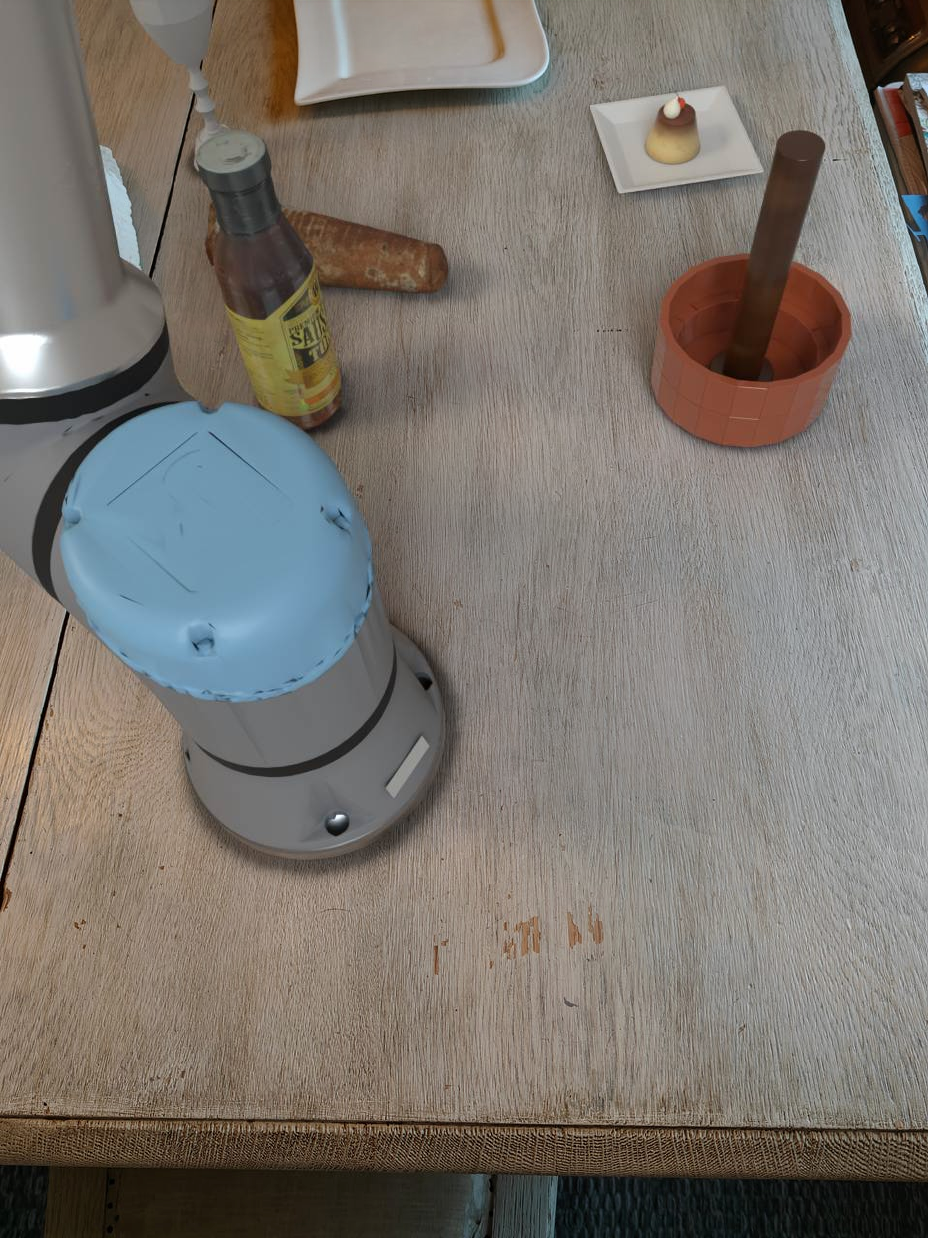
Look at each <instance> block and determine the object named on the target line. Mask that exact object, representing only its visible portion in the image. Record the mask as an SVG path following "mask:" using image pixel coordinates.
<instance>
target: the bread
mask: <svg viewBox="0 0 928 1238" xmlns="http://www.w3.org/2000/svg"><path fill="white" fill-rule="evenodd" d="M280 205H281V211H282V212H283V214H284V215H285V217H286V218H287V220H288V221H289V223H290V224H291V225H292V227H293V228H294V230H295V231H296V233H297V234H298V236H299V237H300V239H301V240H302V242H303V243H304V245H305V246H306V248H307V249H308V251H309V252H310V253H311V254H312V256H313V260H314V264H315V267H316V272H317V277H318V281H319V285H320V286H322V287H324V286H325V287H337V288H347V289H349V288H350V289H357V290H367V291H386V292H396V293H397V292H398V293H415V294H419V293H420V294H433V293H435V292H437V291H438V290H440V289H442V288H443V287H444V286H445V285H446V283H447V279H448V276H449V270H450V269H449V262H448V258H447V255H446V253H445V251H444V248H443V247H442V245H440V244H439V243H435V242H431V241H424V240H421V239H417V238H414V237H410V236H407V235H403V234H400V233H398V232H397V233H396V232H392V231H389V230H385V229H381V228H376V227H373V226H370V225H365V224H362V223H361V224H360V223H357V222H353V221H349V220H345V219H342V218H338V217H334V216H330V215H326V214H322V213H317V212H313V211H309V210H305V209H301V208H298V207H293V206H289V205H283V204H280ZM219 227H220V226H219V224H218V222H217V219H216V211H215V208H214V204H213V201H212V200H211V203H210V204H209V210H208V217H207V233H206V236H205V240H204V246H205V253H206V257H207V259H208V262H209V264H210V266H212V267H214V263H213V249H214V241H215V236H216V235H217V234H218V233H219Z"/></svg>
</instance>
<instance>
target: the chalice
mask: <svg viewBox="0 0 928 1238" xmlns="http://www.w3.org/2000/svg"><path fill="white" fill-rule="evenodd" d="M128 1H129V4H130V6H131V9H132V12H133V14H134V17H135V19H136V20H137V21H138V22H139V24H140V26H142V29H144V31H145V32H146V33H147V35H148V36H149V37H150V39H151V40H152V41H153V43H155V44H156V45H157V46H158V48H160V49H161V50H162V52H164V54H165V55H166V56H167V57H168V58H169V59H170V60H171V61H172V62H173V63H174V64H175V65H179V66H185V67H186V69H187V70H188V75H189V84H188V87H189V89H190V90H191V91H192V92H193V93H194V94H195V96H196V104H195V106H194V110H195V111H196V112H198V113H199V114H200V115H201V116H202V118H203V120H204V127H203V128H202V129H201V130H200V131H199V132H198V134H197V137H196V138H195V143H194V144H195V148H194V158H193V167H194V168H195V170H196V171H197V172H199V169H198V166H197V163H196V154H197V152H198V149H199V147H200V146H201V145H202V144H203V143H204V142H205V141H206V140H207V139H209V138H211V137H213V136H215V135H218V134H220V133H223V132H228V131H235V130H234V129H233V128H231V127H230V126H229V125H226V124H223V123H219V122H218V120H217V119H216V116H215V114H216V113H215V108H216V107H217V102H216V101H215V100H214V99H212V98H211V97H210V95H209V94H208V86H209V84H210V83H209V80H208V79H207V78H205V76H204V74H203V73H202V71H201V68H200V62H201V61H203V60H204V59H205V58H206V57H207V56H208V50H209V43H210V37H211V31H212V24H213V3H214V1H213V0H128Z"/></svg>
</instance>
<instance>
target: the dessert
mask: <svg viewBox="0 0 928 1238" xmlns="http://www.w3.org/2000/svg"><path fill="white" fill-rule="evenodd" d="M589 109H590V112H591V115H592V119H593V121H594V124H595V127H596V130H597V133H598V136H599V140H600V142H601V145H602V148H603V150H604V154H605V157H606V160H607V162H608V163H607V164H608V167H609V169H610V172H611V175H612V178H613V181H614V184H615V188H616V191H617V193H618V194H621V195H622V194H628V193H635V192H642V191H648V190H649V191H650V190H654V189H662V188H669V187H674V186H675V187H676V186H683V185H689V184H695V183H702V182H709V181H717V180H722V179H728V178H729V179H730V178H736V177H742V176H750V175H755V174H757V175H758V174H762V173H765V170H764V168H763V165H762V164H761V161H760V159H759V156H758V155H757V152H756V150H755V148H754V146H753V144H752V141H751V140H750V138H749V135H748V133H747V130H746V128H745V126H744V123H743V122H742V120H741V118H740V115H739V113H738V111H737V108H736V106H735V104H734V102H733V100H732V97H731V96H730V93H729V91H728V89H727V86H726V85H725V84H724V85H723V84H722V85H717V86H710V87H704V88H697V89H689V90H683V91H677V90H674V92H670V93H663V94H662V93H661V94H656V95H650V96H649V95H648V96H643V97H635V98H628V99H622V100H615V101H608V102H601V103H594V104H590V105H589Z"/></svg>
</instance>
